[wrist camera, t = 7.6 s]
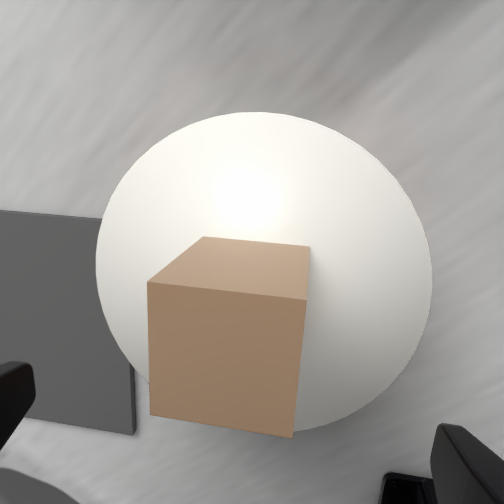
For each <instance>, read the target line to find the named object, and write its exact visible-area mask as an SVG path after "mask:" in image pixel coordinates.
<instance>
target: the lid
mask: <svg viewBox="0 0 504 504" xmlns="http://www.w3.org/2000/svg"><path fill="white" fill-rule="evenodd" d="M96 279H97V287H98V294H99V298H100V302H101V306H102V310H103V313H104V315H105V318H106V321H107V323H108V326H109V328H110V331H111V333H112V334H113V336H114V338H115V340H116V342H117V344H118V346H119V347H120V349H121V350H122V352H123V353H124V355H125V356H126V358H127V359H128V361H129V362H130V363H131V365H132V366H133V367H134V368H135V369H136V370H137V372H138V373H139V374H140V375H141V376H142V377H143V378H144V379H145V380H146V381H147V382H148V383H149V395H150V415H153V416H159V417H165V418H171V419H177V420H183V421H189V422H195V423H201V424H208V425H214V426H220V427H226V428H232V429H238V430H243V431H250V432H256V433H262V434H268V435H274V436H280V437H286V438H293V432H295V431H303V430H307V429H312V428H316V427H320V426H324V425H326V424H329V423H332V422H335V421H338V420H340V419H342V418H344V417H346V416H348V415H350V414H352V413H354V412H356V411H358V410H360V409H361V408H363V407H364V406H366V405H367V404H368V403H370V402H371V401H373V400H374V399H376V398H377V397H378V396H379V395H380V394H381V393H382V392H383V391H385V390H386V389H387V388H388V387H389V386H390V385H391V384H392V383H393V382H394V380H395V379H396V378H397V377H398V376H399V375H400V373H401V372H402V371H403V370H404V368H405V367H406V365H407V364H408V362H409V361H410V359H411V357H412V356H413V354H414V353H415V351H416V349H417V346H418V344H419V342H420V340H421V337H422V335H423V333H424V330H425V326H426V323H427V319H428V316H429V312H430V305H431V297H432V290H433V289H432V264H431V258H430V252H429V246H428V242H427V239H426V236H425V233H424V230H423V227H422V224H421V221H420V219H419V217H418V215H417V213H416V211H415V209H414V207H413V205H412V203H411V201H410V199H409V197H408V196H407V195H406V193H405V192H404V190H403V189H402V187H401V186H400V185H399V183H398V182H397V180H396V179H395V178H394V177H393V176H392V175H391V173H390V172H389V171H388V170H387V169H386V168H385V167H384V166H383V165H382V164H381V163H380V162H379V161H378V160H377V159H376V158H375V157H373V156H372V155H371V154H370V153H368V152H367V151H366V150H365V149H363V148H362V147H361V146H360V145H358V144H357V143H355V142H353V141H352V140H350V139H348V138H347V137H345V136H343V135H342V134H340V133H338V132H337V131H334V130H332V129H329V128H327V127H325V126H322V125H320V124H318V123H315V122H313V121H309V120H305V119H301V118H297V117H294V116H290V115H283V114H275V113H266V112H247V113H234V114H228V115H222V116H216V117H212V118H209V119H206V120H202V121H199V122H196V123H193V124H191V125H189V126H186V127H184V128H182V129H180V130H178V131H176V132H174V133H172V134H170V135H169V136H167V137H166V138H164V139H163V140H161V141H160V142H158V143H157V144H155V145H154V146H153V147H151V148H150V149H149V150H148V151H147V152H146V153H145V154H144V155H143V156H142V157H140V158H139V159H138V160H137V161H136V162H135V163H134V165H133V166H132V167H131V168H130V170H129V171H128V172H127V173H126V174H125V176H124V177H123V178H122V180H121V181H120V183H119V185H118V186H117V188H116V190H115V191H114V193H113V195H112V196H111V199H110V201H109V203H108V206H107V208H106V211H105V213H104V215H103V219H102V223H101V226H100V230H99V234H98V241H97V249H96Z"/></svg>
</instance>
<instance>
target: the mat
mask: <svg viewBox="0 0 504 504" xmlns="http://www.w3.org/2000/svg"><path fill="white" fill-rule="evenodd" d="M101 223H102V219H97V218H86V217H74V216H63V215H51V214H40V213H28V212H17V211H5V210H0V364H4V363H7V362H10V361H21V362H27V363H30V364H31V365H32V367H33V371H34V379H35V387H36V398H35V401H34V403H33V405H32V406H31V408H30V409H29V411H28V412H27V413H26V415H25V416H24V417H28V418H34V419H40V420H46V421H51V422H57V423H63V424H69V425H75V426H81V427H86V428H92V429H98V430H104V431H110V432H116V433H122V434H127V435H133V434H134V432H135V431H136V415H135V391H134V368H133V366H132V365H131V363H130V362H129V361H128V359H127V358H126V356H125V355H124V353H123V352H122V350H121V349H120V347H119V346H118V344H117V342H116V340H115V338H114V336H113V334H112V333H111V331H110V328H109V326H108V323H107V321H106V318H105V315H104V313H103V310H102V306H101V302H100V298H99V294H98V287H97V279H96V249H97V241H98V234H99V230H100V226H101Z"/></svg>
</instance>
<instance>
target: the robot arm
mask: <svg viewBox="0 0 504 504" xmlns="http://www.w3.org/2000/svg"><path fill="white" fill-rule="evenodd" d="M35 398H36V387H35V379H34V371H33V367H32V365H31V364H30V363H27V362H21V361H10V362H7V363H4V364H0V451H1V449H2V448H3V446H4V445H5V443H6V442H7V441H8V439H9V438H10V436H11V435H12V433H13V432H14V431H15V429H16V428H17V426H18V425H19V423H20V422H21V421H22V419H23V418H24V416H25V415H26V413H27V412H28V411H29V409H30V408H31V406H32V405H33V403H34V401H35ZM430 465H431V472H432V477H433V479H429V478H423V477H417V476H411V475H405V474H400V473H394V472H390V473H387V474H386V475H385V476H384V478H383V483H382V488H381V494H380V499H379V504H504V460H502V459H501V458H500V457H499V456H498V455H496V454H495V453H494V452H493V451H491V450H490V449H489V448H488V447H487V446H485V445H484V444H483V443H482V442H481V441H479V440H478V439H477V438H476V437H475V436H473V435H472V434H471V433H470V432H469V431H467V430H466V429H465V428H463V427H462V426H459V425H453V424H446V423H441V424H439V425H438V427H437V430H436V434H435V438H434V443H433V447H432V452H431V457H430ZM392 481H394V483H391V482H392Z"/></svg>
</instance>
